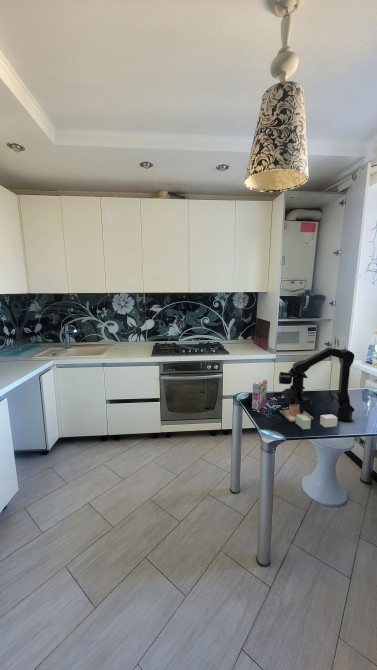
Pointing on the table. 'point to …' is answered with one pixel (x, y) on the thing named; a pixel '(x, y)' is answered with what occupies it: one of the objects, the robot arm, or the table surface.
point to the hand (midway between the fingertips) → (296, 410)
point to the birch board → (293, 418)
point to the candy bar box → (259, 394)
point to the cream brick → (328, 420)
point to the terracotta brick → (294, 409)
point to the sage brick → (303, 421)
